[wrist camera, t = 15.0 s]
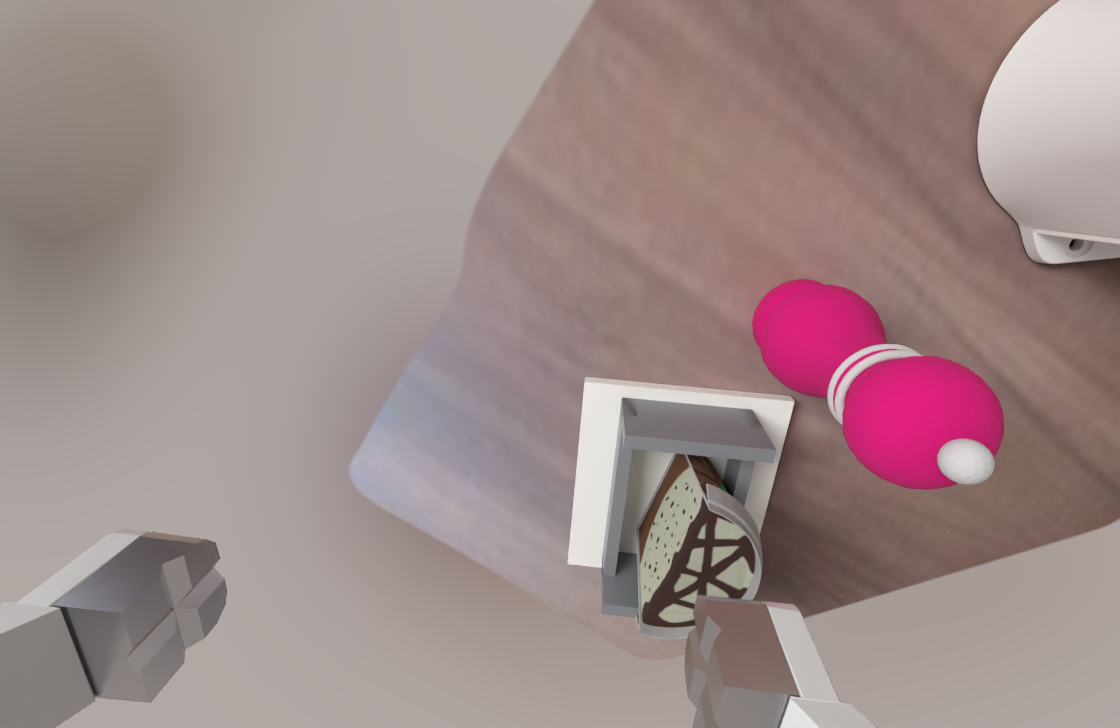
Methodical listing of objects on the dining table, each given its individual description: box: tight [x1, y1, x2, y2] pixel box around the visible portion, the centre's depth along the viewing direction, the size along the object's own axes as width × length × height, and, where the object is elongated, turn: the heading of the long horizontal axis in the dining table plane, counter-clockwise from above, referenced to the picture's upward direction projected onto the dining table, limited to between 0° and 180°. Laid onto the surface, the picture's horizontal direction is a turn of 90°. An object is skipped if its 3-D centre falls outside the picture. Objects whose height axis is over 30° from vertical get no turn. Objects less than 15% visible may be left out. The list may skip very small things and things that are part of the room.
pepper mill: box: [752, 280, 1004, 489], centre depth 29 cm, size 7×7×20 cm
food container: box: [635, 453, 763, 639], centre depth 38 cm, size 12×6×10 cm, turn 161°
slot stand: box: [568, 377, 795, 617], centre depth 40 cm, size 16×18×7 cm
